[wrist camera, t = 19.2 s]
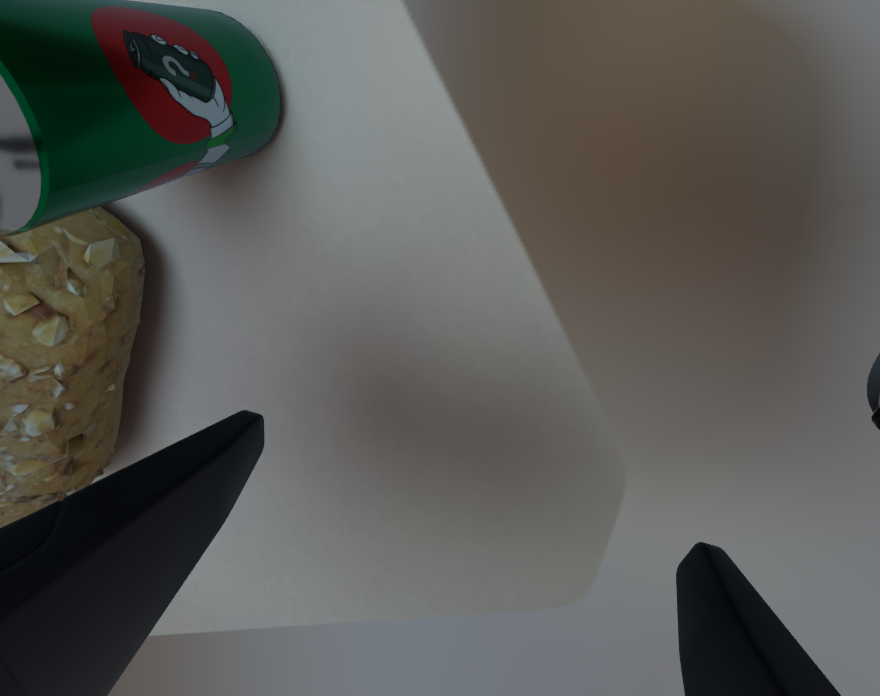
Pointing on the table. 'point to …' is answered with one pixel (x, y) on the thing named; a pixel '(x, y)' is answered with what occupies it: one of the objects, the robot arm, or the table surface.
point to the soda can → (121, 102)
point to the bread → (63, 354)
